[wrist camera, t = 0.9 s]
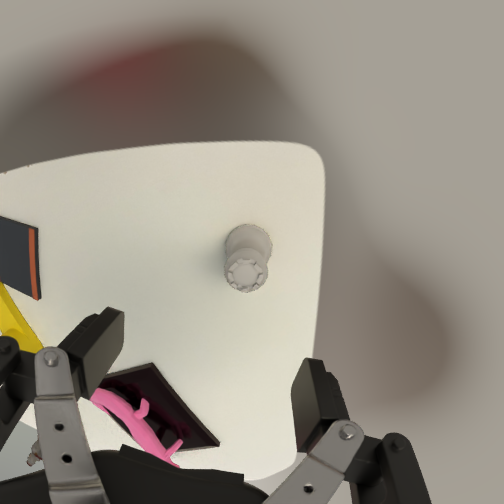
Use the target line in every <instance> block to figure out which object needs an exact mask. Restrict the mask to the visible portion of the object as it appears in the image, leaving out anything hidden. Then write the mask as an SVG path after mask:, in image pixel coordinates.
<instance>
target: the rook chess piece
mask: <svg viewBox="0 0 504 504" xmlns="http://www.w3.org/2000/svg"><path fill="white" fill-rule="evenodd" d="M271 252H272V242H271V239H270V237H269V235H268V234H267V233H266V232H265V231H264V229H262V228H260V227H258V226H256V225H246V224H245V225H242V226H239V227H237V228H235V229H234V230H233V231H232V232H231V233H230V234H229V236H228V239H227V241H226V255H227V258H228V260H227V262H226V264H225V266H224V275H225V278H226V280H227V282H228V283H229V284H230V285H231V286H232V287H233V288H234V289H237V290H239V291H241V292H244V293H248V292H250V291H255V290H257V289H258V288H260V287H261V286H262V285H263V284H264V283H265V281H266V279H267V277H268V267H267V262H268V260H269V259H270V257H271Z"/></svg>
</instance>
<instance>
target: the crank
mask: <svg viewBox="0 0 504 504" xmlns="http://www.w3.org/2000/svg"><path fill="white" fill-rule="evenodd" d="M0 330H1V332H2V335H1V336H10V337H13V338H14V339H16V340H17V342H18V344H19V348H20V350H23V351H28V352H32V353H37V352H38V351H39V350H40V349H42V348H43V346H42V344H41V342H40V341H39V339H38V338H37V336H36V335H35V334H34V332H33V331H32V330H31V328H30V327H29V325H28V324H27V322H26V321H25V319H24V318H23V316H22V315H21V313H20V312H19V310H18V309H17V307H16V305H15V304H14V302H13V301H12V299H11V297H10V296H9V294H8V292H7V291H6V289H5V287H4V285H3V284H2V282H0Z"/></svg>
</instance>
